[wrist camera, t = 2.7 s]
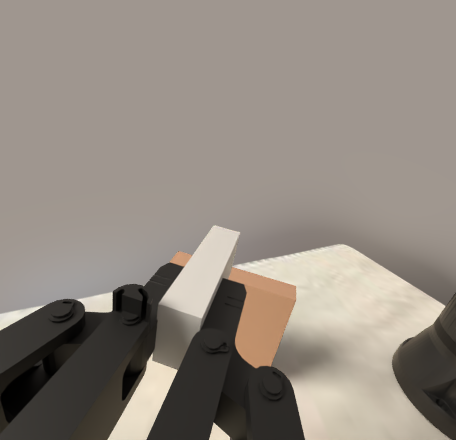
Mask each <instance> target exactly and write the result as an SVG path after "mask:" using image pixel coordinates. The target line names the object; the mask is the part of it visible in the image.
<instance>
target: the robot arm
mask: <svg viewBox="0 0 456 440" xmlns="http://www.w3.org/2000/svg"><path fill="white" fill-rule="evenodd" d="M239 236H240V232H236V231H233V230H229V229H226V228H222V227H218V226H215V225H214V226H213V228H212V229H211V230H210V232H209V233H208V235H207V236H206V237H205V239H204V240H203V241H202V243H201V244H200V246H199V247H198V249H197V250H196V251H195V253H194V254H193V256H192V257H191V258H190V260H189V261H188V263H187V264H186V265H185V267H184V266H180V265H177V264H174V263H171V262H170V263H168V264H166V265H164V266H162V267H160V268H159V270H158V271H157V272H156V273H155V275H154V276H153V277H152V278H151V279H150V281H148V282H147V284H146V285H145V286H142V285H137V284H129V285H124V286H121V287H118V288H117V289H116V290H114V291H113V311H112V312H108V313H99V312H85V307H84V305H83V304H82V303H81V302H80V301H77V300H74V299H63V300H57V301H55V302H52V303H50V304H48V305H46V306H44V307H42V308H40V309H39V310H37V311H35V312H33V313H31V314H29V315H28V316H26V317H24V318H22V319H20V320H19V321H17V322H15V323H13V324H11V325H10V326H8V327H6V328H4V329H2V330H1V331H0V440H107V439H108V438H109V436H110V434H111V432H112V431H113V429H114V427H115V425H116V424H117V422H118V420H119V418H120V416H121V415H122V413H123V411H124V409H125V408H126V406H127V404H128V402H129V401H130V399H131V397H132V395H133V394H134V392H135V390H136V388H137V387H138V385H139V383H140V381H141V379H142V378H143V376H144V374H145V371H146V366H147V361H148V359H149V358H150V356H151V354H152V353H153V358H152V361H155V362H158V363H161V364H163V365H166V366H169V367H172V368H174V369H177V370H178V371H177V373H176V376H175V378H174V380H173V382H172V385H171V387H170V389H169V391H168V393H167V396H166V398H165V400H164V402H163V404H162V407H161V409H160V411H159V413H158V415H157V418H156V420H155V422H154V424H153V426H152V429H151V431H150V433H149V435H148V437H147V440H209V437H210V434H211V430H212V426H213V422H214V423H215V424H216V425H217V426H218V427H220V428H221V429H222V430H223V431H224V432H225V433H226V434H227V435H229V436H230V440H305V438H304V433H303V429H302V425H301V420H300V416H299V412H298V407H297V403H296V399H295V394H294V390H293V387H292V385H291V383H290V381H289V379H288V378H287V377H286V376H285V375H284V373H282V372H281V371H279V370H278V369H276V368H274V367H270V366H259V367H258V368H255V367H253V366H252V365H251V364H249V363H248V362H247V361H245V360H244V359H243V358H242V357H241V355H240V354H239V353H238V351H237V349H236V345H235V337H236V333H237V329H238V325H239V322H240V318H241V314H242V310H243V306H244V302H245V298H246V295H247V292H246V288H245V285H244V284H241V283H238V282H235V281H232V280H228V278H229V276H230V273H231V269H232V265H233V261H234V257H235V253H236V248H237V244H238V240H239ZM392 365H393V370H394V374H395V376H396V379H397V381H398V383H399V385H400V386H401V388H402V390H403V391H404V393H405V394H406V396H407V397H408V398H409V400H410V401H411V402H412V403H413V405H414V406H415V407H416V408H417V409H418V410H419V411H420V412H421V413H422V414H423V415H424V416H425V417H426V418H427V419H428V420H429V421H430V422H431V423H432V424H433V425H434V426H435V427H436V428H438V429H439V430H440V431H441V432H443V433H444V434H445V435H447V436H448V437H449V438H451V439H452V440H456V293H455V294H454V296H453V297H452V299H451V300H450V301H449V303H448V304H447V305H446V307H445V308H444V310H443V311H442V312H441V314H440V315H439V317H438V318H437V320H436V321H435V322H434V324H433V325H431V326H430V327H428V328H426V329H425V330H423V331H422V332H421V333H419V334H418V335H416V336H415V337H412V338H409V339H407V340H405V341H404V342H403V343H402V344H401V345H400V346H399V348H398V349H397V351H396V352H395V354H394V356H393V360H392Z"/></svg>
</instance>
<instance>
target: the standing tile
mask: <svg viewBox="0 0 456 440" xmlns="http://www.w3.org/2000/svg"><path fill="white" fill-rule="evenodd" d="M192 256H193V255H190V254H186V253H183V252H179V251H178V253H177V254H176V255H175V256H174V257H173V258H172V260H171V261H170V262H171V263H174V264H177V265H180V266H184V267H185V265H186V264H187V263H188V261H189V260H190V258H191V257H192ZM228 280H232V281H235V282H238V283H241V284H244V285H245V288H246V292H247V295H246V298H245V302H244V306H243V310H242V314H241V318H240V322H239V325H238V329H237V333H236V337H235V345H236V349H237V351H238V353H239V354H240V355H241V357H242V358H243V359H244V360H245V361H247V362H248V363H249V364H251V365H252V366H253V367H255V368H258V367H259V366H270V367H271V364H272V362H273V359H274V356H275V354H276V351H277V349H278V346H279V343H280V341H281V338H282V336H283V333H284V330H285V328H286V325H287V323H288V320H289V317H290V315H291V312H292V310H293V307H294V304H295V302H296V286H294V285H290V284H287V283H284V282H280V281H277V280H274V279H270V278H267V277H263V276H260V275H257V274H253V273H250V272H247V271H243V270H240V269H237V268H233V267H232V269H231V273H230V276H229V278H228Z"/></svg>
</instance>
